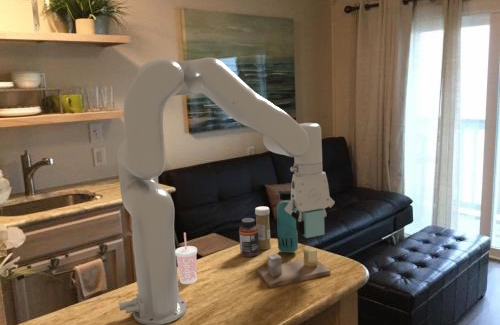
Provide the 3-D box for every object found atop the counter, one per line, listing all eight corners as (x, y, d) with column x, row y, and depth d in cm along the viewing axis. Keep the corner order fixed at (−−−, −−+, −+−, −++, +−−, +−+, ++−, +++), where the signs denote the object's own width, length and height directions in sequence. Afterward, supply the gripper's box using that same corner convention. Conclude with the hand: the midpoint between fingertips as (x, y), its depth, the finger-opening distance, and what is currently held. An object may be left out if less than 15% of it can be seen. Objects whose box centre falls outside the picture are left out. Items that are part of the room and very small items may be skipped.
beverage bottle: (292, 247, 143) (290, 187, 139) (302, 255, 137) (300, 192, 133) (274, 251, 141) (271, 190, 137) (283, 258, 135) (280, 195, 131)
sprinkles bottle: (273, 247, 144) (272, 208, 141) (262, 251, 142) (260, 210, 139) (265, 243, 148) (263, 205, 145) (254, 247, 145) (252, 207, 143)
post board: (270, 287, 117) (269, 265, 116) (257, 272, 126) (256, 252, 125) (330, 274, 123) (330, 253, 122) (313, 261, 132) (312, 241, 131)
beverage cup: (174, 285, 121) (170, 236, 118) (180, 275, 127) (176, 229, 124) (196, 285, 120) (192, 236, 117) (201, 275, 126) (198, 228, 123)
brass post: (308, 268, 124) (308, 252, 123) (303, 265, 127) (303, 248, 126) (317, 266, 125) (316, 250, 124) (312, 263, 128) (312, 246, 127)
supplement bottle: (247, 249, 144) (246, 215, 142) (263, 252, 140) (261, 218, 138) (236, 255, 139) (234, 221, 137) (252, 259, 136) (250, 223, 134)
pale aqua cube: (306, 238, 121) (305, 213, 119) (297, 231, 126) (296, 208, 125) (324, 234, 123) (323, 209, 121) (314, 228, 128) (314, 204, 126)
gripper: (285, 175, 114) (288, 241, 118) (343, 166, 120) (344, 230, 124) (274, 170, 121) (277, 232, 125) (329, 162, 127) (330, 222, 130)
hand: (310, 230), depth 124 cm, fingers closed on pale aqua cube, 5 cm apart
